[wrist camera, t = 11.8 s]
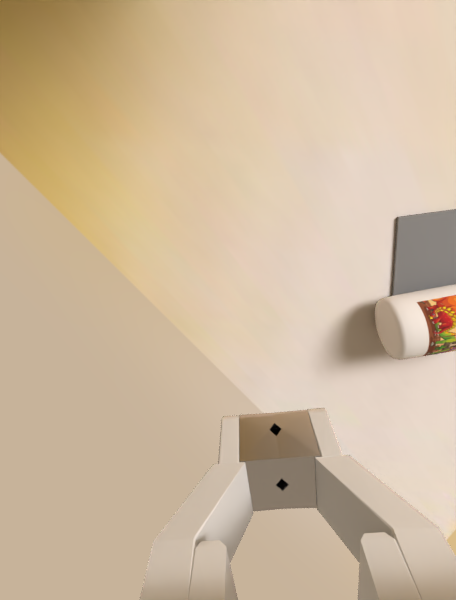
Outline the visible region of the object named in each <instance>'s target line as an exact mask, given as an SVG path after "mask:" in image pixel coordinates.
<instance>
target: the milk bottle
mask: <svg viewBox="0 0 456 600" xmlns="http://www.w3.org/2000/svg"><path fill="white" fill-rule="evenodd" d="M375 323H376V328H377V332H378V335H379V338H380V341H381V343H382V345H383V347H384V349H385V350H386V352H387V353H388V354H389V355H390V356H391V357H392V358H395V359H399V360H401V359H408V358H414V357H420V356H426V355H432V354H438V353H444V352H450V351H456V284H453V285H448V286H442V287H437V288H431V289H426V290H421V291H415V292H410V293H405V294H400V295H394V296H390V297H385V298H382V299H380V300H379V301H378V302H377V304H376V307H375Z"/></svg>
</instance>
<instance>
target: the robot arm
mask: <svg viewBox="0 0 456 600" xmlns="http://www.w3.org/2000/svg"><path fill="white" fill-rule="evenodd" d="M284 508H285V509H286V508H317V510H318V511H319V512H320V513H321V515H322V516H323V517H324V518H325V520H326V521H327V522H328V523H329V525H330V526H331V527H332V529H333V530H334V531H335V532H336V534H337V535H338V536H339V537H340V539H341V540H342V541H343V542H344V544H345V545H346V546H347V548H348V549H349V550H350V551H351V553H352V554H353V555H354V556H355V558H356V559H357V560H358V562H359V563H360V564H359V588H358V600H456V556H455V554H454V553H453V551H452V549H451V547H450V545H449V544H448V542H447V540H446V538H445V537H444V535H443V533H442V531H441V530H440V528H439V527H438V526H436V525H435V524H434V523H433V522H432V521H430V520H429V519H428V518H427V517H425V516H424V515H423V514H422V513H420V512H419V511H418V510H417V509H415V508H414V507H413V506H412V505H410V504H409V503H408V502H407V501H406V500H404V499H403V498H402V497H401V496H399V495H398V494H397V493H396V492H394V491H393V490H392V489H391V488H389V487H388V486H387V485H386V484H385V483H383V482H382V481H381V480H380V479H378V478H377V477H376V476H375V475H373V474H372V473H371V472H370V471H368V470H367V469H366V468H365V467H364V466H362V465H361V464H360V463H359V462H357V461H356V460H355V459H354V458H352V457H351V456H350V455H343V453H342V450H341V448H340V445H339V442H338V440H337V437H336V434H335V432H334V429H333V426H332V424H331V421H330V418H329V416H328V413H327V410H326V409H325V408H317V409H307V410H298V411H287V412H276V413H263V414H247V415H236V416H223V417H222V421H221V433H220V446H219V461H218V464H213V465H212V466H211V468H210V469H209V470H208V471H207V473H206V474H205V475H204V477H203V478H202V479H201V481H200V482H199V483H198V484H197V486H196V487H195V488H194V490H193V491H192V492H191V494H190V495H189V496H188V497H187V499H186V500H185V501H184V502H183V504H182V505H181V506H180V508H179V509H178V510H177V512H176V513H175V514H174V516H173V517H172V518H171V519H170V521H169V522H168V523H167V525H166V526H165V527H164V528H163V530H162V531H161V532H160V534H159V535H158V536H157V538H156V539H155V540H154V541H153V545H152V550H151V554H150V558H149V562H148V566H147V571H146V575H145V579H144V583H143V587H142V592H141V596H140V600H238V598H237V593H236V589H235V584H234V580H233V576H232V571H231V567H230V562H231V560H232V558H233V556H234V554H235V551H236V549H237V547H238V545H239V543H240V541H241V538H242V537H243V535H244V532H245V530H246V528H247V526H248V524H249V522H250V519H251V517H252V515H253V511H261V510H274V509H284Z"/></svg>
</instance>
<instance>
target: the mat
mask: <svg viewBox="0 0 456 600" xmlns="http://www.w3.org/2000/svg"><path fill="white" fill-rule="evenodd" d="M453 284H456V209H454V210H446V211H439V212H431V213H424V214H416V215H409V216H401V217H397V226H396V241H395V256H394V271H393V286H392V296H394V295H400V294H405V293H410V292H415V291H421V290H426V289H431V288H437V287H442V286H448V285H453Z"/></svg>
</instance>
